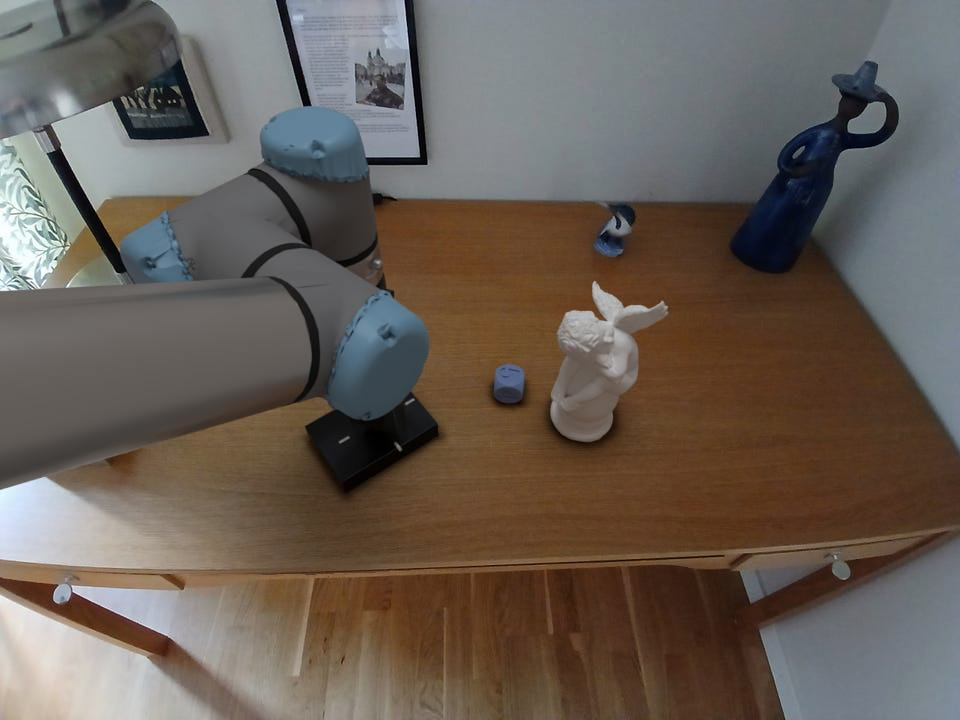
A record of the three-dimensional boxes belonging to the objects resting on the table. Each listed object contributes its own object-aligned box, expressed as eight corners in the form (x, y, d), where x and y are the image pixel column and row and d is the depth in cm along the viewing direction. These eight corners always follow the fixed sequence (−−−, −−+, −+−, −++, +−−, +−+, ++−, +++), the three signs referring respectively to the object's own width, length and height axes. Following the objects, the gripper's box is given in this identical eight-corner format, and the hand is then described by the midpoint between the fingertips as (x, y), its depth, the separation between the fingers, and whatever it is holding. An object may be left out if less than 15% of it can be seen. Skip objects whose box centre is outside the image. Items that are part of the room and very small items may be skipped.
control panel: (348, 497, 69) (343, 485, 66) (307, 435, 74) (301, 422, 72) (441, 438, 74) (440, 425, 72) (396, 385, 80) (394, 371, 77)
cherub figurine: (543, 443, 74) (565, 331, 57) (536, 370, 82) (554, 252, 65) (634, 443, 74) (683, 331, 57) (618, 370, 82) (657, 253, 65)
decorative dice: (521, 404, 78) (523, 387, 75) (493, 402, 78) (494, 385, 75) (523, 382, 80) (525, 364, 77) (495, 379, 81) (496, 362, 77)
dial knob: (349, 419, 72) (338, 383, 66) (358, 405, 74) (348, 369, 68) (398, 436, 71) (391, 401, 65) (406, 421, 72) (400, 385, 66)
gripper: (338, 345, 48) (375, 475, 66) (414, 239, 57) (428, 379, 75) (264, 322, 49) (319, 455, 67) (350, 222, 59) (378, 363, 77)
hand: (377, 415), depth 71 cm, fingers closed on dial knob, 2 cm apart
